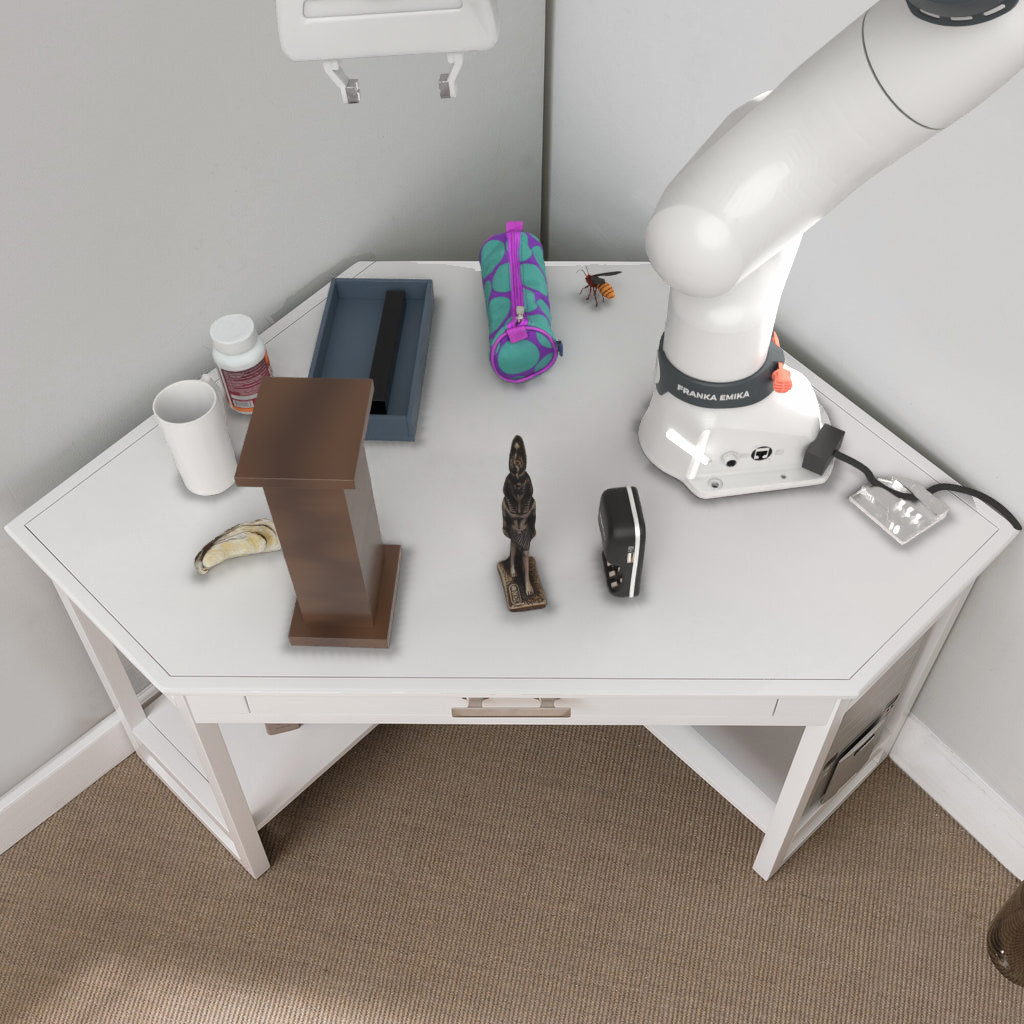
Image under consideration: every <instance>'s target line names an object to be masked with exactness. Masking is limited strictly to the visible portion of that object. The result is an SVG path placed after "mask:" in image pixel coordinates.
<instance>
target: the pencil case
mask: <svg viewBox="0 0 1024 1024" xmlns="http://www.w3.org/2000/svg"><path fill="white" fill-rule="evenodd" d="M505 231H506V232H497V233H495V234H493V235H491V236H489V237H488V238H487V239H486V240H485V241H484V242H483V243H482V245H481V247H480V249H479V253H478V262H479V266H480V274H481V275H480V276H481V282H482V289H483V294H484V301H485V310H486V316H487V321H488V343H489V351H488V361H489V364H490V367H491V369H492V370H493V372H494V374H495V375H496V376H497V377H499V378H500V379H502V380H503V381H505V382H508V383H512V384H523V383H526V382H529V381H532V380H534V379H536V378H537V377H539V376H541V375H543V374H545V373H547V372H548V371H549V370H550V369H551V368H553V366H554V365H555V364H556V362H557V361H558V357H559V356H560V357H563V356H564V345H563V341H562V340H561V339H558V340H557V339H556V337H555V333H554V331H553V329H552V314H551V303H550V300H549V287H548V278H547V270H546V269H547V268H546V263H545V259H544V247H543V244H542V242H541V241H540V239H539V238H538V237H537V236H536V235H535V234H533V233H531V232H529V231H524V223H523V220H511V221H510V220H509V221H506V227H505Z"/></svg>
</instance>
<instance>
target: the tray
mask: <svg viewBox="0 0 1024 1024" xmlns="http://www.w3.org/2000/svg"><path fill="white" fill-rule="evenodd" d="M327 291H328V292H327V296H326V300H325V304H324V309H323V312H322V313H323V314H322V317H321V320H320V325H319V329H318V334H317V336H316V337H317V338H316V341H315V346H314V350H313V354H312V358H311V362H310V365H309V371H308V374H307V378H355V379H369V376H370V371H371V366H372V361H373V356H374V351H375V346H376V341H377V336H378V331H379V326H380V321H381V316H382V311H383V307H384V302H385V297H386V292H387V291H405V295H406V303H407V307H406V312H405V318H404V323H403V329H402V334H401V340H400V345H399V351H398V356H397V362H396V367H395V373H394V378H393V384H392V389H391V395H390V400H389V406H388V411H387V415H378V414H369V419H368V425H367V430H366V436H365V441H373V442H374V441H375V442H376V441H377V442H415V441H416V433H417V428H418V420H419V414H420V413H419V412H420V407H421V406H420V405H421V400H422V399H421V398H422V392H423V386H424V380H425V373H426V372H425V371H426V364H427V359H428V357H427V356H428V349H429V344H430V336H431V330H432V322H433V317H434V310H435V309H434V308H435V303H436V302H435V291H434V281H433V279H431V278H377V277H376V278H374V277H373V278H372V277H371V278H369V277H367V278H366V277H331V279H330V283H329V287H328V290H327Z"/></svg>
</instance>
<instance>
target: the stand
mask: <svg viewBox="0 0 1024 1024" xmlns="http://www.w3.org/2000/svg"><path fill="white" fill-rule="evenodd" d="M373 392H374V384H373V379H355V378H308V377H298V376H297V377H293V376H292V377H291V376H274V377H262V380H261V383H260V387H259V390H258V394H257V397H256V401H255V404H254V408H253V412H252V414H250V418H249V422H248V426H247V430H246V433H245V437H244V441H243V444H242V447H241V451H240V455H239V458H238V462H237V469H236V472H235V476H234V479H235V482H234V483H235V486H236V487H237V488H262V491H263V493H264V497H265V501H266V502H267V506H268V509H269V513H270V516H271V519H272V521H273V523H274V526H275V529H276V532H277V535H278V539H279V542H280V545H281V552H282V554H283V557H284V560H285V564H286V568H287V571H288V574H289V576H290V581H291V583H292V587H293V590H294V593H295V596H296V598H295V602H294V607H293V608H294V609H293V611H292V612H293V613H292V617H291V622H290V626H289V631H288V635H287V638H288V641H289V644H290V646H293V647H294V646H296V647H301V646H302V647H330V648H331V647H333V648H359V649H360V648H361V649H362V648H365V649H390V642H391V635H392V628H393V622H394V614H395V613H394V612H395V608H396V599H397V593H398V585H399V578H400V571H401V564H402V557H403V550H402V545H401V544H390V543H389V544H388V543H387V544H385V543H383V538H382V533H381V527H380V522H379V517H378V512H377V511H378V510H377V506H376V501H375V496H374V490H373V485H372V480H371V479H372V478H371V475H370V469H369V464H368V459H367V458H368V457H367V453H366V447H365V441H366V440H365V436H366V430H367V425H368V419H369V414H370V409H371V403H372V398H373Z"/></svg>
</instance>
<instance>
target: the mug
mask: <svg viewBox="0 0 1024 1024" xmlns="http://www.w3.org/2000/svg"><path fill="white" fill-rule="evenodd" d="M225 410H226V409H225V404H224V399H223V395H222V391H221V389H220V386H219V385H218V384H217V382H216V381H215V380H214V379H213V377H212V375H211V374H210V373H209V374H208V373H203V374H202V375H201V377H200V379H183V380H179V381H176V382H172V383H171V384H168V385H167V386H165V387H164V388H163V389H161V390H160V391H159V392H158V394H156V396H155V397H154V400H153V402H152V412H153V414H154V417H155V419H156V421H157V425H158V427H159V429H160V431H161V434H162V436H163V439H164V440H165V441H164V442H165V443H166V445H167V447H168V449H169V452H170V454H171V456H172V459H173V461H174V463H175V464H174V465H175V466H176V468H177V470H178V471H177V472H178V473H179V475H180V478H181V479H182V481H183V484H184V486H185V488H186V489H187V490H189V491H190V492H191V493H193V494H195V495H198V496H202V497H203V496H207V497H208V496H215V495H217V494H218V495H219V494H222V493H223V492H225V491H227V490H228V489H230V488H231V487H232V486H233V485H234V484H235V483H236V482H235V479H234V476H235V472H236V469H237V465H238V462H237V460H236V456H235V451H234V447H233V445H232V442H231V438H230V434H229V432H228V428H227V417H226V411H225Z"/></svg>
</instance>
